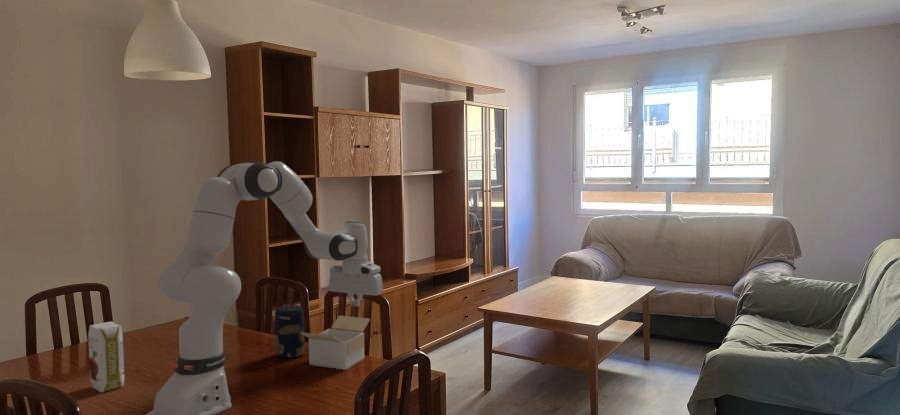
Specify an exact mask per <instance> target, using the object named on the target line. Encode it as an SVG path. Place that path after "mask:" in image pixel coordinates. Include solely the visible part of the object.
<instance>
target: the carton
mask: <svg viewBox="0 0 900 415" xmlns="http://www.w3.org/2000/svg"><path fill="white" fill-rule="evenodd" d="M318 334H319V335H328V336H334V337H336V338H338V339H340V340H342V341H343V342H342V343H341V342H333V341H325V340H317V339H310V338H308V363H309V364H308V366H315V367H323V368H330V369H334V368H336V369H335V370H341V369H342V370H341V371H347V370H349V369H350V368H351V366H352V367H353V366H355V365H356V364H358V363H359V362H361V361H363V360H365V332H358V331H349V330H341V329H332V328H327V329H326V330H325V329H324V331H320V332H319V333H318Z"/></svg>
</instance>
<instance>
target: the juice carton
mask: <svg viewBox="0 0 900 415" xmlns="http://www.w3.org/2000/svg"><path fill="white" fill-rule="evenodd" d="M88 328H89V329H88V338H87V339H88V358H89V375H90V377H89V378H90V382H91V386H92V388H93V389H95V390H97V391H98V392H99V393H106V392H109V391H113V390H117V389H119V388H120V389H121V388H123V387H124V385H125V362H124V361H125V358H124V341H123V340H124V336H123V330H122V325H121V324H118V323H115V322H113V321H107V322H101V323H96V324H91V325H89V327H88Z"/></svg>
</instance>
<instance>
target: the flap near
mask: <svg viewBox="0 0 900 415" xmlns="http://www.w3.org/2000/svg"><path fill="white" fill-rule="evenodd" d="M300 334H302V335H304V337H306V338H308V339H309V338H310V339H317V340H325V341H333V342H341V343H342V342H343V341H342V340H340V339H338V338H336V337H334V336H328V335H319V333H312V332H310V333H309V332H304V333H303V332H301V333H300Z"/></svg>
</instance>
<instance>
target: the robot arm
mask: <svg viewBox="0 0 900 415" xmlns="http://www.w3.org/2000/svg"><path fill="white" fill-rule="evenodd" d="M267 198H270V200H271V201H272V203H274V204H275V205H276V206H277V207H278V209H279V210H280V211H281V212H282V214H283V216H284V218H285V219H286V221H287V223H289V225H290V226H291V228H292V229H293V230H294V232H295V233H296V234H297V236H298V237H299V238H300V240H301V242H302V244H303V248H304V251H305V253H306V254H307V256H308V257H310V258H312V259H314V260H315V259H316V260H326V261H335V262H339V261H341V262H342V265H339V266H338V265H333V266H331V268H330V269H329V279H328V280H329V281H328V290H329V292H334V293H345V294H347V297H348V299H349V301H350V306H351V307H360V305H361V301H362V299H363V297H364V295H367V296H379V295H381V294H382V293H383V289H384V288H383V277H382V275H381V273H380V272H381V269H382V268H381V266H380V265H377V264H375V263H372V262H371V261H369V260H368V258H369V256H368V253H367V250H368V248H369V247H368V246H369V245H368V244H369V241H368V239H369V238H368V232H367V231H368V229H367V227H366V224H364V223H362V222H357V221H350V220H349V221H344V223H343V224H342V226H341V227H339V228H338V229H337V230H334V231H325V230H322V229H319V228H317V227H316V226H315V225H314V224H313V222H312V220H311V219H310V218H309V216H308V214H307V212H308V211H309V210H310V209H311V206H312V204H313V194H312V192H311V191H310V189H309V187H308V186H307V185H306V184H305V182H304V181H303V180H302V179H301V178H300V177H299V175H298V174H297V173H296V172H295V171H294V170H292V169H291V168H290V167H289V166H288V165H286V164H285V163H284V162H282V161H276V160H275V161H272V162H269V163H265V162H243V163H237V164H230V165H228V166H226V167H224V168H223V169H221V171H219V172H218V173H217V175H216V176H212V177H210V178H207V179H205V180H204V182H203V183H202V184H201V187H200V189H199V191H198V194H197V196H196V200H195V202H194V206H193V210H192V213H191V218H190V222H189V226H188V227H189V228H188V231H187V234H186V238H185V240H184V243H183V245H182V247H181V249H180V251H179V253H178V254H177V255H176V257H174V259H173V260H172V262H171V263H170V264H168V265H166V267H165V268H163V269H162V270H161V272H160V273H159V275H158V277H157V288H158V291H159V293H160V295H162V296H163V297H165V298H167V299H169V300H171V301H173V302H176V303H180V304H181V303H183V304H188V305H190V313H189V316H188V319H187V320H186V321H184V322H182V324H181V325H180V326H179V329H178V341H179V342H178V343H179V344H178V345H179V355H178V357H177V359H176V361H172V360H170V361H168V362H167V364H166V368H167V369H168V370H174V372H173V374H172V375H171V377H169V379H168V380H167V381H166V382H165V384H164V385H163V386H162V387H161V388H160V390H159V391H157V393H156V395H155V398H154V402H153V403H154V404H153V409H152V410H151V411H149V412H148V413H146V414H145V415H217V414H219V413H221V412H224V411H226V410H229V409H231V408H232V406H233V405H232V402H231V400H232V397H231V395H230V392H229V387H228V381H227V376H226V372H225V371H226V370H225V365H226V354H225V353H226V352H225V350H224V344H223V343H224V342H223V341H224V340H223V339H224V338H223V337H224V335H223V334H224V323H225V322H224V320H225V318H226V315H227V312H228V310H229V308H230V307H231V306H232V304H234V303H235V302H236V301H237V299H238V298H239V296H240V294H241V291H242V282H241V278H240V276H239V275H238V273H237V272H235V271H234V270H232V269H228V268H226V267H223V266H219V265H213V264H214V261H215V259H216V258H217V257H218V255H219V254H221V253H222V252H223V251H225V250H226V249H227V248H228V247H229V245H230V242H231V237H232V234H233V233H232V232H233V228H234V222H235V219H236V218H235V217H236V211H237V207H238V205H239V203H240V202H241V201H256V200H265V199H267ZM354 295H356V297H357V298H356V299H355V298H354Z"/></svg>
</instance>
